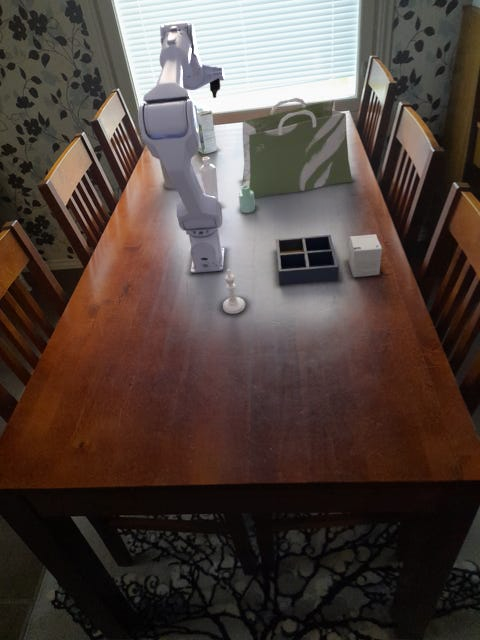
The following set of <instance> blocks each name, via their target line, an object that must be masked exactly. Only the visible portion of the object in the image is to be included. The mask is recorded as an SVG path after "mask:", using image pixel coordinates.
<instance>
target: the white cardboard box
mask: <svg viewBox="0 0 480 640" xmlns="http://www.w3.org/2000/svg"><path fill="white" fill-rule="evenodd" d="M348 247H349V248H348V265H349V269H350V271H351V274H352V277H353V278H360V277H371V276H380V272H381V262H382V253H383V248H382V245H381V243H380V240H379V239H378V236H377V234H376V233H375V234H364V235H353V236H349V246H348Z"/></svg>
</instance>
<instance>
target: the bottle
mask: <svg viewBox="0 0 480 640" xmlns="http://www.w3.org/2000/svg"><path fill="white" fill-rule="evenodd" d="M238 199H239V207H240V209H239V210H240V212H241V213H244V214H249V213H250V214H251V213H253V212H254V211H255V210H256V203H255V197H254V192H253V191H251V190H250V187H249V186H248V185H244V184H243V185H242V186H241V191H240V192H238Z"/></svg>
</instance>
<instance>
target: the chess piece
mask: <svg viewBox="0 0 480 640" xmlns="http://www.w3.org/2000/svg"><path fill="white" fill-rule="evenodd" d="M226 271H227V274H226V275H225V277H224V279H225V281H226V283H227V284H226V285H225V289H227V290H228V292H229V293H228V298H226V299H225V300H224V301H223V303H222V310H223V311H224V312H225V313H227V314H233V315H234V314H238V313H241V312H243V310H244V309H245V308H246V303H245V301H244V299H243V298H241V297H239V296H237V295H236V292H235V289H236V288H237V285H236V283H234V282H235V276H234V275H233V274H231V269H230V268H227V270H226Z"/></svg>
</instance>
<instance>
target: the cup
mask: <svg viewBox="0 0 480 640" xmlns="http://www.w3.org/2000/svg"><path fill="white" fill-rule="evenodd" d="M158 161H159V165H160V169H161V173H162V178H163V182H164V186H165V188H167V189H170V190H176V188H175V186H174V184H173V182H172V180H171V178H170V176H169V174H168V173H167V171H166V169H165V167H164V165H163V163H162V161H161V160H159V159H158Z"/></svg>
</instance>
